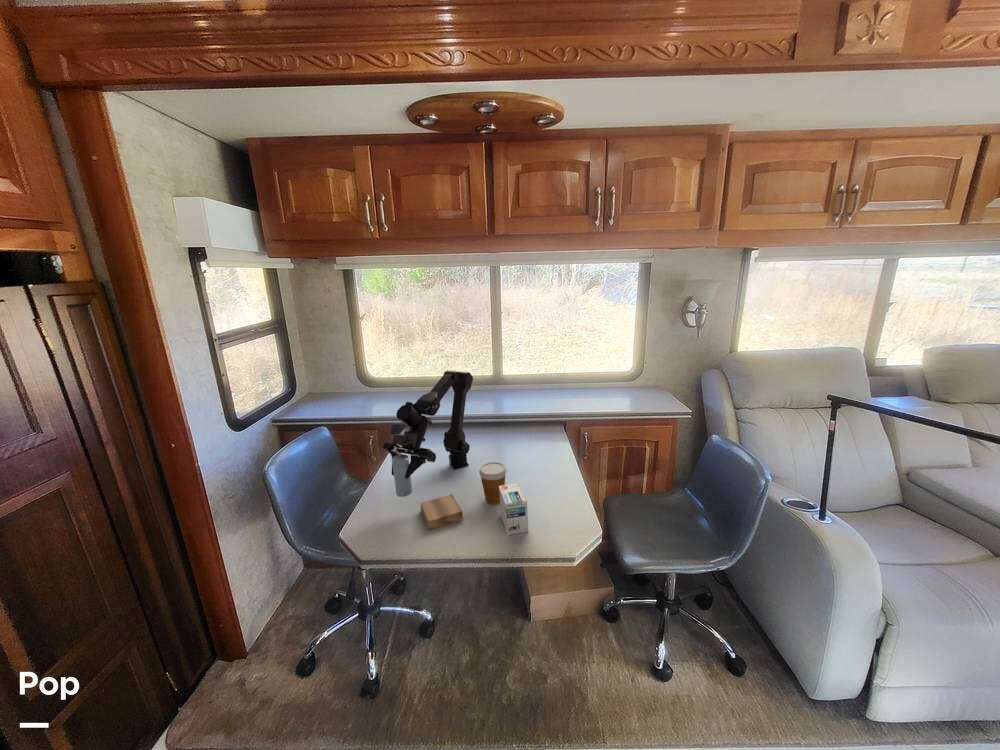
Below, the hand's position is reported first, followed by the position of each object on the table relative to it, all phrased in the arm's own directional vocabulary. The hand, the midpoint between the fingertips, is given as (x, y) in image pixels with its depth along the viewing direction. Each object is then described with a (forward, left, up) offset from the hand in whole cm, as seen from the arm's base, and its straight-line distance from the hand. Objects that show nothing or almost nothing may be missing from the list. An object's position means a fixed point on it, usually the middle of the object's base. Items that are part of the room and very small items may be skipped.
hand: (399, 476), depth 121 cm
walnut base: (-11, +7, -13) cm, 19 cm away
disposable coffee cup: (-30, +7, -14) cm, 34 cm away
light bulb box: (-30, +22, -14) cm, 40 cm away
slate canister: (-1, -1, -7) cm, 7 cm away
